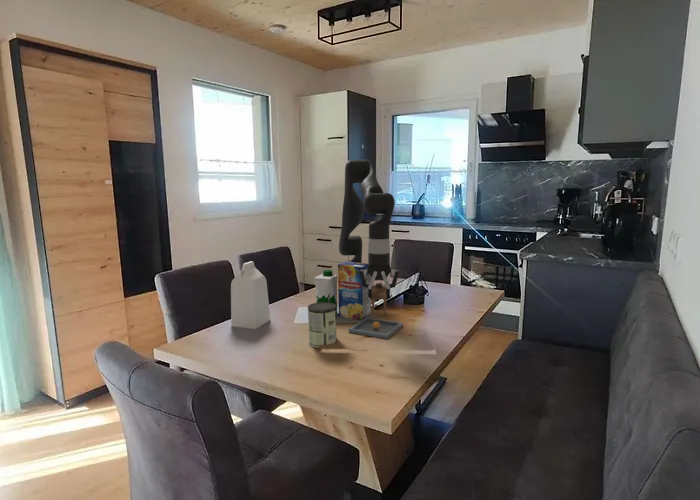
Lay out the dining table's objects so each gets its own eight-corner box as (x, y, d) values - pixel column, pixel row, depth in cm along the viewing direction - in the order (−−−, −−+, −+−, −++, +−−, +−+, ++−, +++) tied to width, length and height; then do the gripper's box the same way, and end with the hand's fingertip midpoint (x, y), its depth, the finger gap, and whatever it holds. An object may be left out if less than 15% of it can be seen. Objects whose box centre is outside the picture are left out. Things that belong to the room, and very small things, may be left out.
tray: (348, 335, 163) (348, 329, 162) (366, 323, 177) (366, 317, 176) (387, 342, 155) (387, 335, 155) (402, 328, 169) (402, 322, 169)
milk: (255, 329, 171) (252, 266, 167) (231, 326, 175) (227, 264, 171) (270, 319, 182) (267, 260, 178) (247, 317, 186) (244, 259, 182)
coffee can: (315, 336, 162) (314, 301, 160) (340, 339, 159) (340, 303, 156) (304, 346, 152) (302, 308, 150) (330, 349, 149) (329, 311, 147)
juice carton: (338, 319, 182) (337, 264, 179) (347, 314, 189) (346, 261, 185) (362, 323, 176) (362, 267, 173) (371, 318, 183) (371, 264, 179)
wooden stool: (371, 315, 147) (371, 285, 146) (372, 311, 152) (371, 281, 150) (386, 316, 147) (386, 285, 145) (385, 311, 152) (386, 281, 150)
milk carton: (339, 314, 189) (339, 270, 186) (331, 320, 181) (330, 274, 178) (322, 312, 193) (321, 269, 189) (313, 317, 184) (312, 273, 181)
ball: (371, 329, 165) (371, 322, 165) (374, 327, 168) (374, 320, 167) (378, 330, 164) (378, 323, 163) (381, 328, 167) (381, 321, 166)
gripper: (357, 253, 143) (358, 301, 146) (400, 253, 142) (400, 302, 145) (358, 249, 150) (359, 296, 153) (399, 249, 149) (399, 296, 152)
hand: (379, 298), depth 149 cm, fingers closed on wooden stool, 5 cm apart
